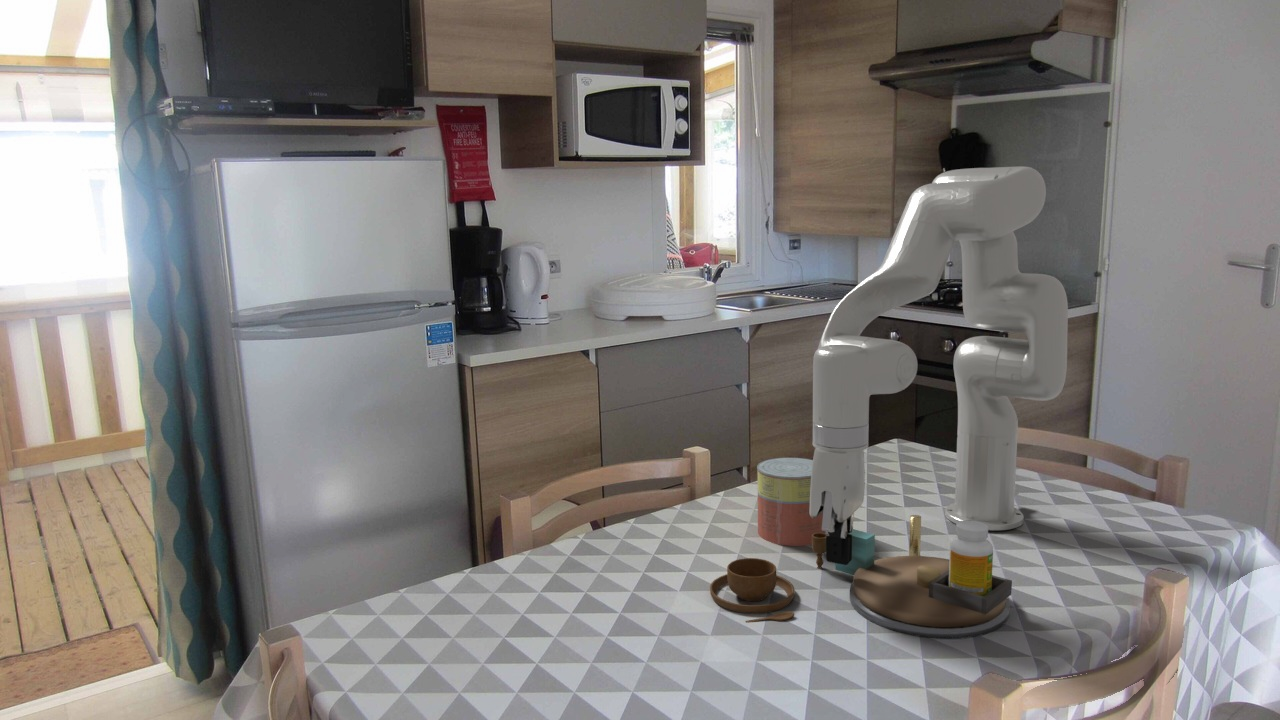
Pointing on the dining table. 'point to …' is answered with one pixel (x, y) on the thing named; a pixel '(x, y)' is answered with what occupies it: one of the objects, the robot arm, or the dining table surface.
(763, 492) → the canned food
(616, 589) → the dining table surface
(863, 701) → the dining table surface
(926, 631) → the flange base
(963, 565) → the supplement bottle
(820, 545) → the place setting
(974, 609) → the turntable plate
